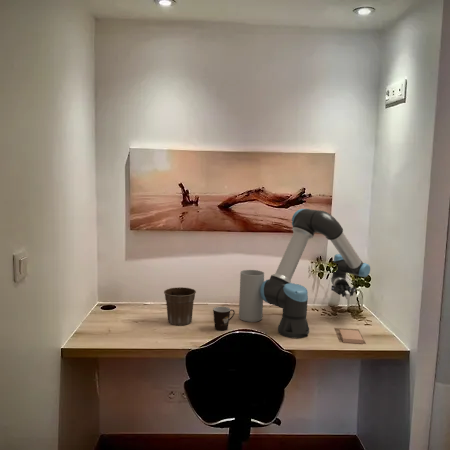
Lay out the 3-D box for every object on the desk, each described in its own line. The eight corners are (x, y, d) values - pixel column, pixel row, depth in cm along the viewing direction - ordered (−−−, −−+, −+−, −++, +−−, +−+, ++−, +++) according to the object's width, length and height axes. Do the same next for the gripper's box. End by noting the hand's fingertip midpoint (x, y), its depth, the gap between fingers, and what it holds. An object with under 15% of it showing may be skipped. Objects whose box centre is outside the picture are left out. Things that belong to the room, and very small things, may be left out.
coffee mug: (214, 332, 220) (214, 312, 219) (211, 326, 228) (211, 306, 227) (237, 331, 222) (238, 311, 221) (233, 325, 231) (234, 306, 229)
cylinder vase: (253, 324, 233) (255, 276, 230) (234, 318, 241) (235, 272, 237) (266, 318, 243) (268, 272, 240) (247, 313, 251) (249, 268, 247)
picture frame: (339, 329, 221) (343, 338, 209) (358, 330, 220) (363, 339, 208) (339, 333, 221) (342, 342, 209) (358, 334, 220) (362, 343, 208)
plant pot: (157, 323, 230) (157, 292, 228) (175, 314, 244) (175, 285, 242) (184, 329, 222) (184, 297, 220) (201, 320, 237) (201, 290, 234)
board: (333, 329, 229) (334, 327, 228) (358, 331, 227) (358, 329, 227) (339, 344, 210) (339, 341, 210) (365, 346, 209) (366, 343, 208)
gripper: (352, 292, 251) (360, 304, 228) (328, 291, 253) (334, 302, 229) (353, 279, 251) (362, 290, 227) (329, 277, 252) (335, 288, 229)
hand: (348, 296), depth 228 cm, fingers closed
